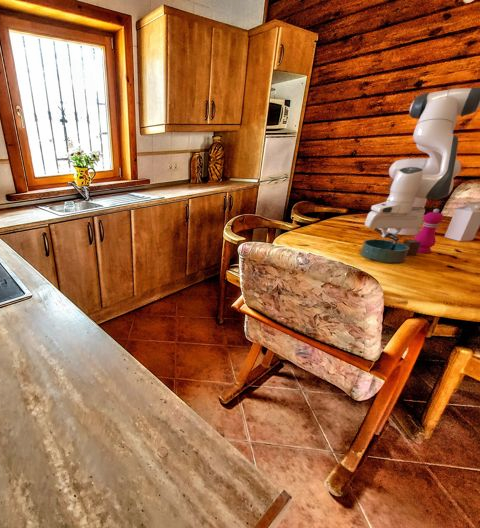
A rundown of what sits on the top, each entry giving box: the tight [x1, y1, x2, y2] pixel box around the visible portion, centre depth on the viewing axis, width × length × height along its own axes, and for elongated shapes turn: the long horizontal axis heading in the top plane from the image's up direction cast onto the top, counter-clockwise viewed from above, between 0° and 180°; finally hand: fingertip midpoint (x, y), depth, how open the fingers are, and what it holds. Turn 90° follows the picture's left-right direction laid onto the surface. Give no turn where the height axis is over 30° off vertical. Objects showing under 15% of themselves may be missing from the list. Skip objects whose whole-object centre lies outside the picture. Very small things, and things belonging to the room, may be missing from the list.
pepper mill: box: [413, 208, 444, 254], centre depth 126 cm, size 7×7×20 cm
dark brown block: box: [402, 238, 421, 257], centre depth 126 cm, size 4×4×6 cm
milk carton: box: [443, 201, 480, 242], centre depth 138 cm, size 7×7×19 cm
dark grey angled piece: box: [373, 228, 400, 250], centre depth 128 cm, size 17×5×8 cm, turn 170°
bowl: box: [360, 239, 409, 264], centre depth 124 cm, size 15×15×6 cm
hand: (388, 237), depth 126 cm, fingers closed on dark grey angled piece
